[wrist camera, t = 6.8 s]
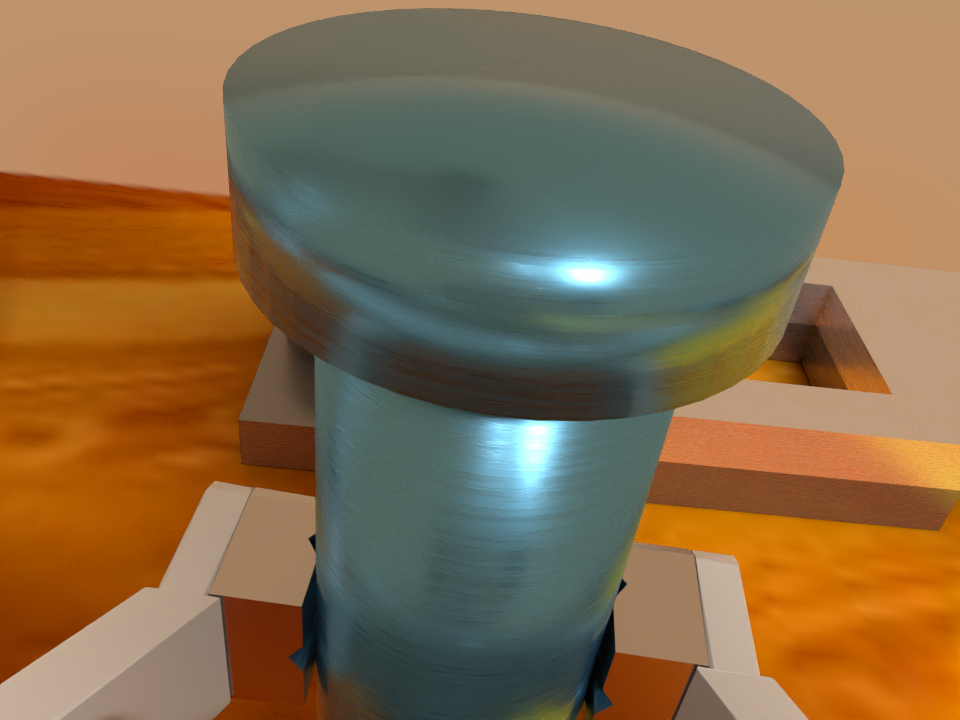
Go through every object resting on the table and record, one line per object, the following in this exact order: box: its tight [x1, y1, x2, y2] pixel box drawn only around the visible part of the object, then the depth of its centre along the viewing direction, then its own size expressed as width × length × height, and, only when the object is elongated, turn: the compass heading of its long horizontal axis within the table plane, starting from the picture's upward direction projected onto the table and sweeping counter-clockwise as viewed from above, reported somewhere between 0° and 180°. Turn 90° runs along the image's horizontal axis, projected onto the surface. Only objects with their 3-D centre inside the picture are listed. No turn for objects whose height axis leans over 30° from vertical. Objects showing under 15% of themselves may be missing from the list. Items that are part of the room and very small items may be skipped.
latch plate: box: [238, 257, 960, 531], centre depth 26 cm, size 28×9×4 cm, turn 88°
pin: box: [223, 8, 844, 720], centre depth 11 cm, size 4×4×14 cm
